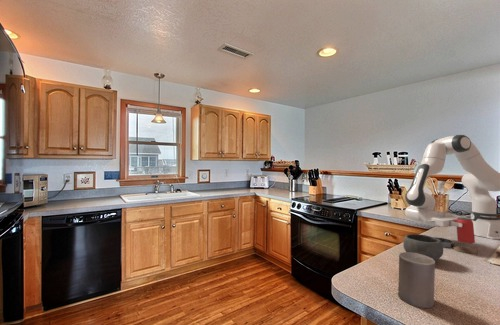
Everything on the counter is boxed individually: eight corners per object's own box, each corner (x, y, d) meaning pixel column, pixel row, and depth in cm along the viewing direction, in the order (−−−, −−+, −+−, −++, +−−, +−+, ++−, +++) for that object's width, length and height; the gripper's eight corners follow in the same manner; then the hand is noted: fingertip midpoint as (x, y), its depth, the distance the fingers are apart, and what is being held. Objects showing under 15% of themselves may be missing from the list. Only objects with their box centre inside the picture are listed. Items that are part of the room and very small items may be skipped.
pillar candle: (391, 291, 83) (392, 248, 82) (418, 291, 83) (419, 247, 83) (412, 309, 73) (413, 260, 73) (442, 308, 73) (443, 259, 73)
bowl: (432, 269, 101) (432, 245, 101) (396, 256, 114) (396, 235, 114) (449, 262, 107) (450, 240, 107) (414, 251, 121) (414, 231, 121)
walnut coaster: (470, 248, 126) (470, 246, 126) (481, 254, 118) (481, 252, 118) (449, 246, 129) (449, 244, 129) (459, 252, 120) (459, 250, 120)
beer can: (470, 241, 124) (468, 217, 125) (477, 244, 118) (475, 219, 119) (455, 240, 127) (453, 217, 128) (461, 243, 121) (459, 219, 121)
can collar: (447, 242, 135) (447, 238, 135) (457, 248, 125) (457, 243, 125) (427, 241, 137) (427, 236, 137) (435, 246, 128) (435, 242, 128)
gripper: (425, 214, 131) (455, 220, 118) (446, 211, 139) (477, 217, 127) (425, 225, 131) (455, 232, 118) (446, 222, 139) (476, 228, 127)
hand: (466, 224), depth 122 cm, fingers closed on beer can, 6 cm apart
